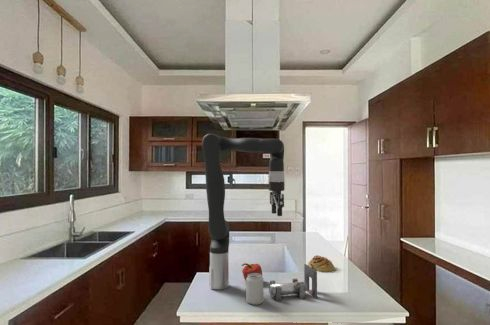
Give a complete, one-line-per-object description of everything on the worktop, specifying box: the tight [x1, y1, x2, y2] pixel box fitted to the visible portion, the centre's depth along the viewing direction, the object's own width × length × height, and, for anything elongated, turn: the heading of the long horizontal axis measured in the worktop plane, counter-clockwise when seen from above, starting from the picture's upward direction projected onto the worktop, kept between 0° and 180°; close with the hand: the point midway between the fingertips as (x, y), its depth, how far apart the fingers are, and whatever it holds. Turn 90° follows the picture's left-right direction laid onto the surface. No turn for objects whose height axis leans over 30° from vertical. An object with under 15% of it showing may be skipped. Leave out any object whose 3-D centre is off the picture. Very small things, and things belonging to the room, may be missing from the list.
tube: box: [268, 280, 307, 297], centre depth 160 cm, size 16×5×5 cm, turn 103°
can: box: [245, 273, 264, 306], centre depth 154 cm, size 8×8×12 cm
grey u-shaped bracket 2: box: [292, 277, 306, 300], centre depth 162 cm, size 2×10×6 cm, turn 13°
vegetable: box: [241, 262, 263, 282], centre depth 179 cm, size 11×10×10 cm
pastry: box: [307, 254, 336, 273], centre depth 202 cm, size 13×15×8 cm
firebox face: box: [303, 263, 318, 300], centre depth 163 cm, size 1×12×12 cm, turn 13°
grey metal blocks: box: [269, 279, 282, 302], centre depth 159 cm, size 2×10×6 cm, turn 13°
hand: (276, 214), depth 168 cm, fingers open, 8 cm apart
